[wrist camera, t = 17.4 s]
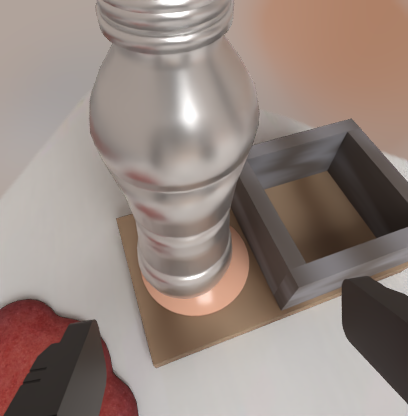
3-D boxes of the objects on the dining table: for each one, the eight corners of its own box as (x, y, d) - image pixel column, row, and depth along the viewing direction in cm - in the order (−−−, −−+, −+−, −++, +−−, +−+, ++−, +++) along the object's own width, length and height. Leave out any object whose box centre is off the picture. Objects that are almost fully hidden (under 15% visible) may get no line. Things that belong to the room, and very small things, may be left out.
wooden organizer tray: (324, 166, 33) (349, 116, 27) (401, 271, 27) (454, 234, 21) (119, 227, 29) (100, 182, 23) (156, 368, 22) (142, 352, 17)
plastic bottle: (126, 262, 25) (-32, -62, 8) (192, 212, 27) (179, -115, 10) (180, 327, 22) (118, 52, 5) (247, 265, 25) (349, -54, 8)
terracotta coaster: (224, 204, 28) (224, 202, 28) (266, 293, 24) (267, 291, 24) (130, 233, 27) (129, 231, 26) (157, 334, 22) (157, 332, 22)
